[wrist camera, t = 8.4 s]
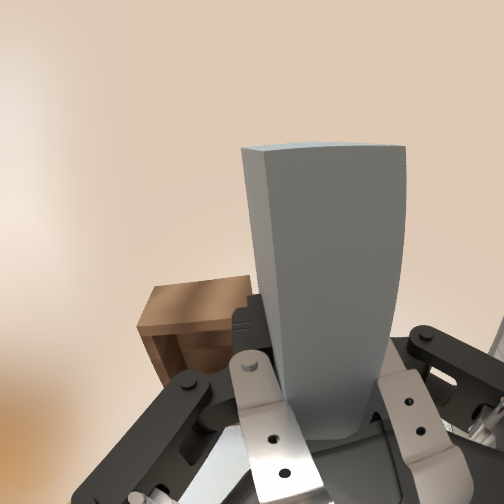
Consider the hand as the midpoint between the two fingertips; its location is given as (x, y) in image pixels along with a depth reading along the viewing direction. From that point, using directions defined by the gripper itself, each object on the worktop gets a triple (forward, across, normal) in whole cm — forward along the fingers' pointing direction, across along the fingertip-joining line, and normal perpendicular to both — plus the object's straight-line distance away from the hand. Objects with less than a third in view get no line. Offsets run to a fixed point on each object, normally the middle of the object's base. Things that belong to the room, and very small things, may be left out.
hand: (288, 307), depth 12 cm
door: (-2, 0, +9) cm, 9 cm away
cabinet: (+14, +7, +25) cm, 30 cm away
